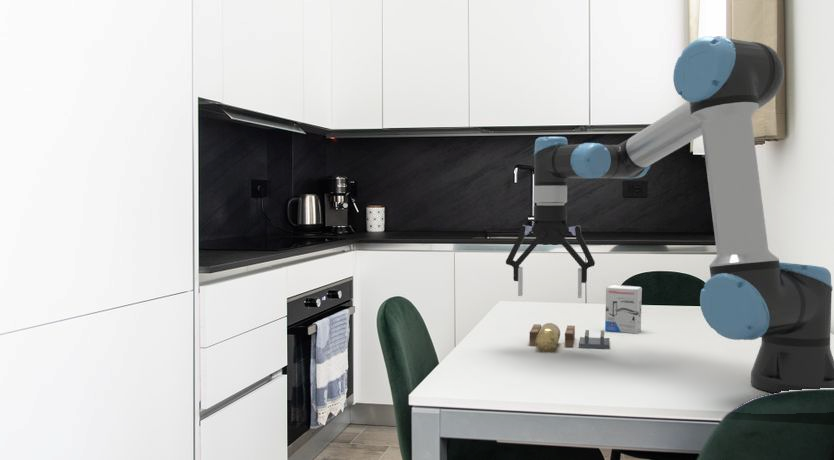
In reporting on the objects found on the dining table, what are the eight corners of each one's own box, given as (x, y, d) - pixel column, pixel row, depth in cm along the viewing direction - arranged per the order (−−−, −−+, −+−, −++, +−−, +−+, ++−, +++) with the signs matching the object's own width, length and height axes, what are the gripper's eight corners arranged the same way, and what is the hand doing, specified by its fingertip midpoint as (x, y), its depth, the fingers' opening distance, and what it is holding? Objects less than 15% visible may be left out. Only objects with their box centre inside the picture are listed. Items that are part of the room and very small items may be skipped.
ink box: (604, 331, 218) (604, 286, 217) (609, 328, 222) (609, 284, 221) (637, 333, 214) (637, 288, 213) (641, 331, 218) (642, 286, 217)
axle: (559, 350, 189) (554, 329, 189) (538, 354, 190) (533, 333, 190) (562, 341, 200) (557, 321, 200) (542, 345, 202) (537, 325, 202)
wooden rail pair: (572, 347, 195) (572, 333, 195) (529, 345, 197) (529, 332, 197) (574, 338, 207) (574, 325, 207) (533, 336, 209) (533, 324, 209)
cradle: (609, 349, 193) (609, 337, 193) (578, 347, 194) (578, 336, 194) (609, 342, 201) (609, 330, 201) (580, 341, 203) (580, 329, 203)
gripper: (606, 204, 192) (605, 295, 193) (498, 203, 197) (498, 292, 198) (606, 204, 184) (605, 299, 185) (494, 204, 190) (493, 296, 191)
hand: (549, 296), depth 192 cm, fingers open, 13 cm apart
